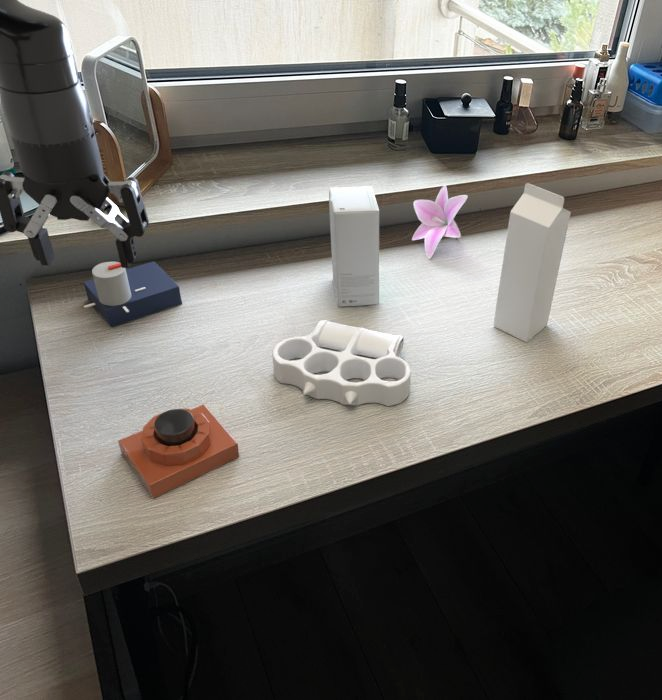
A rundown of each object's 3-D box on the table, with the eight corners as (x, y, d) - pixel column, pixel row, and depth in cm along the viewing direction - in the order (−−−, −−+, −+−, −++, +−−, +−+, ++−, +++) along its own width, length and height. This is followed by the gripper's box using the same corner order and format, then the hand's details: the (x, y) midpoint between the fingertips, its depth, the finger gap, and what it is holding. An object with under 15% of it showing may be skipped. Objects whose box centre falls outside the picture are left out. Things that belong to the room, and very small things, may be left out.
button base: (153, 499, 76) (146, 473, 74) (121, 454, 81) (114, 429, 78) (239, 456, 82) (236, 431, 80) (206, 417, 86) (201, 392, 84)
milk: (514, 309, 110) (537, 175, 97) (547, 325, 108) (576, 189, 95) (492, 326, 106) (513, 188, 93) (526, 343, 104) (553, 204, 90)
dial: (106, 309, 96) (98, 279, 93) (94, 295, 98) (86, 265, 95) (136, 299, 98) (129, 269, 95) (124, 286, 100) (117, 256, 97)
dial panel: (101, 341, 95) (96, 321, 93) (72, 304, 101) (66, 285, 99) (189, 310, 102) (185, 292, 100) (157, 278, 108) (154, 260, 106)
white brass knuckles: (425, 353, 100) (396, 425, 88) (301, 328, 102) (257, 394, 90) (427, 334, 98) (397, 405, 86) (300, 308, 99) (255, 374, 88)
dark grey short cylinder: (166, 451, 77) (164, 440, 76) (150, 430, 79) (147, 419, 78) (202, 435, 79) (200, 424, 78) (185, 415, 81) (183, 403, 80)
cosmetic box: (379, 306, 108) (382, 212, 98) (334, 308, 106) (332, 213, 96) (372, 275, 114) (374, 184, 104) (329, 277, 112) (327, 185, 103)
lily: (413, 226, 130) (395, 190, 122) (476, 206, 128) (462, 169, 120) (422, 278, 123) (403, 244, 115) (488, 258, 122) (473, 222, 114)
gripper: (-43, 137, 69) (9, 279, 79) (116, 145, 71) (146, 283, 81) (-10, 107, 74) (34, 244, 85) (135, 115, 76) (161, 248, 86)
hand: (88, 263), depth 83 cm, fingers open, 8 cm apart
